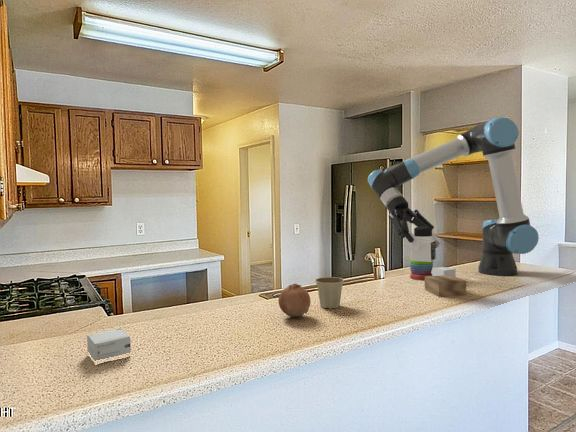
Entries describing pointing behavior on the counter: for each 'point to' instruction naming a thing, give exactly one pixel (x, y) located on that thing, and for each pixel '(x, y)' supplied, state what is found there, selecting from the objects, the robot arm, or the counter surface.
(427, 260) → the medicine bottle
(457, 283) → the walnut block
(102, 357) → the small box
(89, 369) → the counter surface
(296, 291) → the onion
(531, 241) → the robot arm
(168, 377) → the counter surface
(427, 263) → the stacking bear
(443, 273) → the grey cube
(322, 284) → the flower pot
